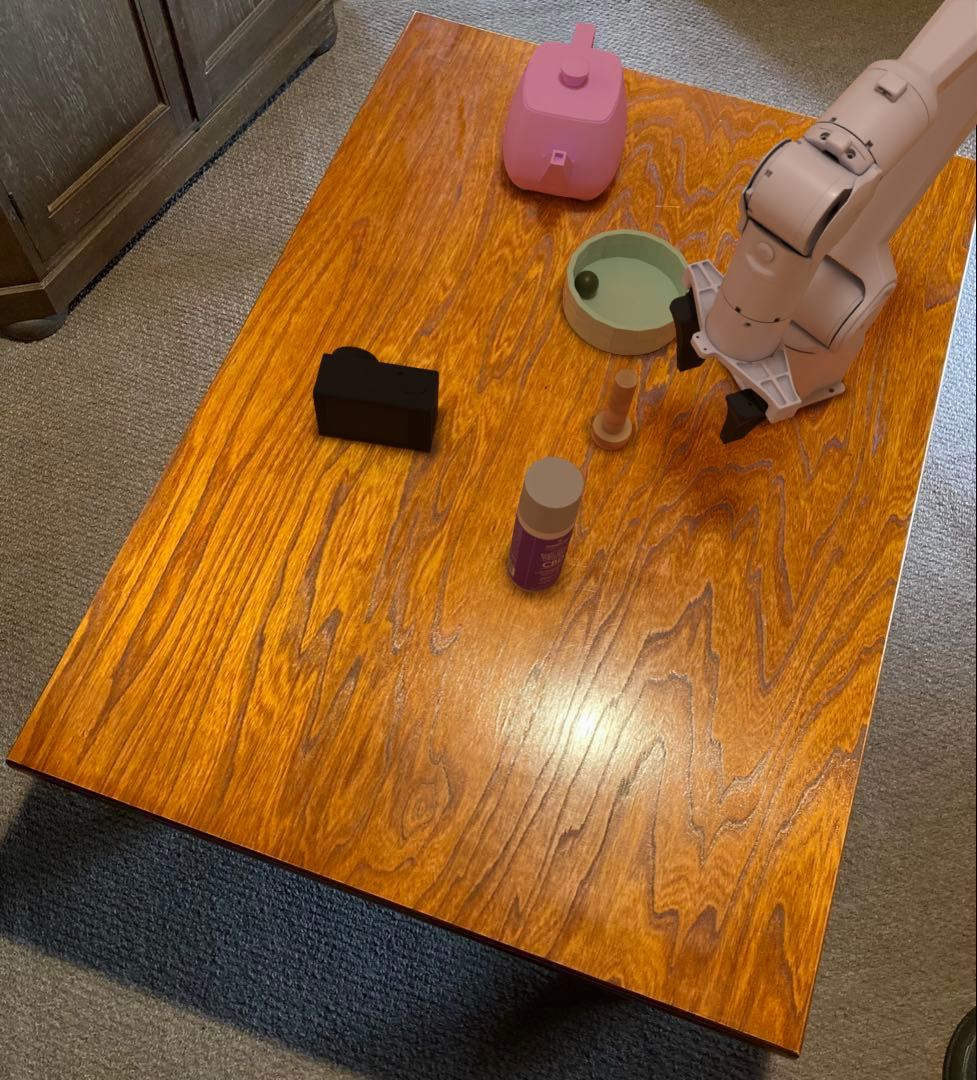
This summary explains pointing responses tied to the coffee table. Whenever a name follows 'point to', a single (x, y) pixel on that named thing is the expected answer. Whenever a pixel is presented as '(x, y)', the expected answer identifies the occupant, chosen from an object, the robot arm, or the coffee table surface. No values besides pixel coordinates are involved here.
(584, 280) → the olive
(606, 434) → the brown piece
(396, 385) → the digital camera
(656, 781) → the coffee table surface
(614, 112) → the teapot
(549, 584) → the container
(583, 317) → the bowl
